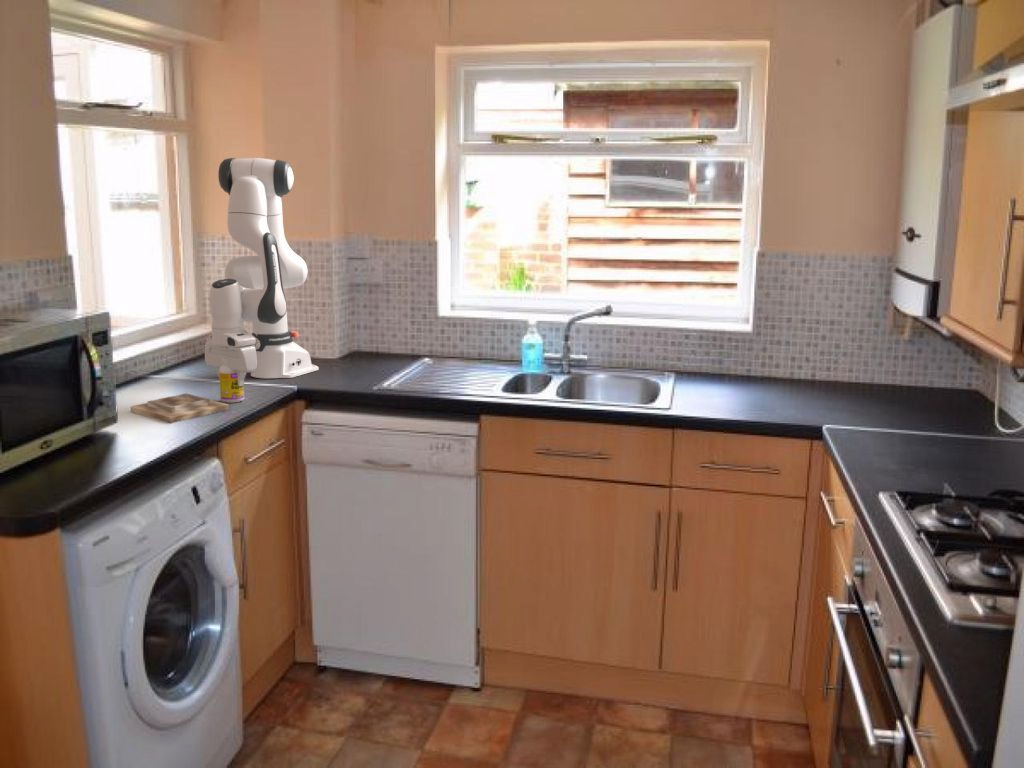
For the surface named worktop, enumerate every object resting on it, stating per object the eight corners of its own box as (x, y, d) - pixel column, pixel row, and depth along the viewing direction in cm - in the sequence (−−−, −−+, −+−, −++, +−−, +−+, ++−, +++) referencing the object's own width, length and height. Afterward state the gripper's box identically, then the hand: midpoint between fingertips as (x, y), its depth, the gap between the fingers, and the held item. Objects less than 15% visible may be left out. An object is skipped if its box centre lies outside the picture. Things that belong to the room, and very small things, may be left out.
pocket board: (187, 399, 271) (187, 389, 270) (229, 409, 259) (228, 399, 258) (130, 411, 257) (129, 401, 256) (171, 423, 245) (170, 412, 244)
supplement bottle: (231, 404, 264) (228, 360, 262) (216, 401, 268) (212, 358, 265) (249, 399, 270) (246, 356, 267) (234, 397, 273) (230, 354, 271)
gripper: (197, 334, 268) (201, 380, 272) (240, 341, 256) (244, 390, 259) (216, 331, 273) (219, 377, 276) (259, 338, 261) (262, 386, 264)
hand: (231, 383), depth 268 cm, fingers closed on supplement bottle, 7 cm apart
